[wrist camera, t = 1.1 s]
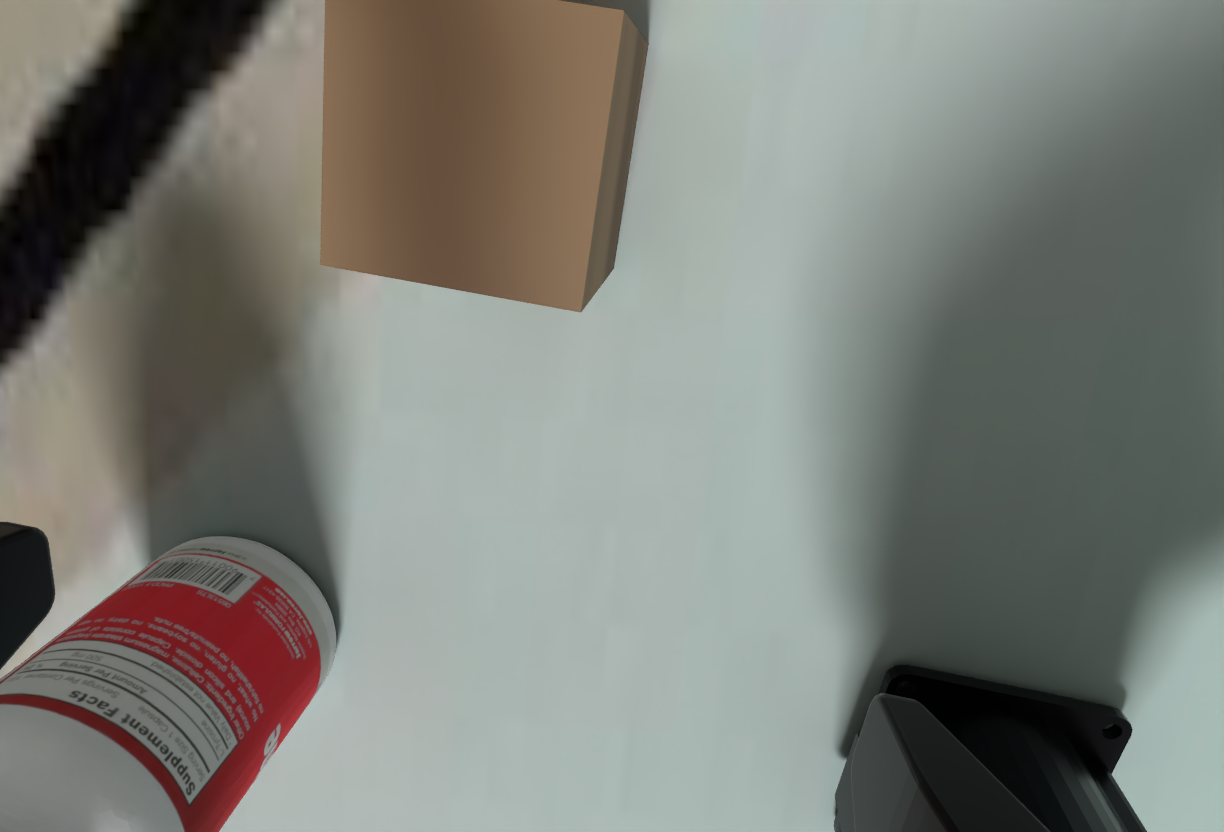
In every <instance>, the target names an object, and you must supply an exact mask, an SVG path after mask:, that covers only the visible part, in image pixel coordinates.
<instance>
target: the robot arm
mask: <svg viewBox="0 0 1224 832" xmlns="http://www.w3.org/2000/svg"><path fill="white" fill-rule="evenodd" d="M54 598H55V586H54V578H53V571H52V564H51V557H50V549H49V542H48V539H47V537H46V535H45V534H44V532H43V531H41V530H40V529H38V528H36V527H31V526H26V525H21V524H16V523H10V522H0V669H1V668H2V667H3V666H4V665H5V664H6V663H7V661H8V660H9V659H10V658H11V657H12V656H13V654H14V653H15V652H16V651H17V650H18V649H19V647H20V646H21V645H22V644H23V643H24V642H25V640H26V639H27V638H28V637H29V636H30V635H31V633H32V632H33V631H34V630H35V629H36V628H37V626H38V625H39V624H40V623H41V622H42V621H43V620H44V618H45V617H46V616H47V614H48V613H49V611H50V609H51V607H52V605H53V602H54ZM902 682H911V684H910V685H909V686H906V687H899V686H898V685H899V684H900V683H902ZM1109 724H1113V725H1112V727H1109V728H1107V729H1103V728H1104V727H1105V726H1107V725H1109ZM1131 733H1132V727H1131V724H1130V723H1129V721H1128V720H1127V718H1126V717H1125V716H1124V714H1123V713H1122V712H1121V711H1120V710H1119V709H1117V708H1114V707H1111V706H1106V705H1101V704H1096V703H1091V702H1086V701H1082V700H1077V699H1072V698H1067V697H1062V696H1057V695H1052V694H1047V693H1043V692H1038V691H1033V690H1028V689H1023V688H1018V687H1013V686H1008V685H1003V684H999V683H994V682H989V681H984V680H979V679H974V678H969V677H964V676H960V675H955V674H950V673H945V672H940V671H935V670H930V669H925V668H920V667H916V666H911V665H898V666H894V667H893V668H891V669H890V670H888V672H887V673H886V675H885V677H884V680H883V683H882V686H881V688H880V691H879V694H878V695H876V696H875V697H874V698H873V700H872V701H871V703H870V705H869V708H868V711H867V714H866V717H865V720H864V724H863V727H862V729H861V730H859V731H858V732H857V733H856V735H855V738H854V741H853V744H852V747H851V750H850V752H849V755H848V758H847V761H846V764H845V767H844V770H843V773H842V776H841V779H840V782H839V785H838V787H837V790H836V794H835V800H836V805H837V811H838V812H837V815H836V818H835V821H834V830H835V832H1147V831H1146V829H1145V828H1144V826H1143V824H1142V823H1141V821H1140V820H1139V818H1138V816H1137V815H1136V813H1135V812H1134V810H1133V808H1132V807H1131V805H1130V804H1129V802H1128V800H1127V799H1126V797H1125V796H1124V794H1123V792H1122V791H1121V789H1120V788H1119V786H1118V784H1117V783H1116V781H1115V780H1114V778H1113V776H1112V775H1111V774H1112V772H1113V770H1114V768H1115V766H1116V764H1117V762H1118V760H1119V758H1120V756H1121V754H1122V752H1123V750H1124V748H1125V746H1126V744H1127V742H1128V740H1129V739H1130V737H1131Z"/></svg>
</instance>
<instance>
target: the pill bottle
mask: <svg viewBox="0 0 1224 832" xmlns="http://www.w3.org/2000/svg"><path fill="white" fill-rule="evenodd" d="M335 652H336V630H335V625H334V620H333V617H332V614H331V611H330V608H329V606H328V604H327V602H326V600H325V598H324V596H323V595H322V593H321V591H320V590H319V588H318V587H317V585H316V584H315V583H314V582H313V580H312V579H311V578H310V577H309V576H308V575H307V574H306V573H305V572H304V571H303V570H302V569H301V568H300V567H299V566H298V565H296V564H295V563H294V562H293V561H292V560H290V559H289V558H287V557H286V556H284V555H283V554H281V553H280V552H278V551H276V550H274V549H272V548H270V547H268V546H266V545H264V544H261V543H259V542H255V541H252V540H248V539H243V538H237V537H227V536H211V537H202V538H198V539H193V540H190V541H187V542H185V543H182V544H180V545H178V546H176V547H174V548H172V549H171V550H169V551H167V552H166V553H164V554H163V555H161V556H160V557H159V558H157V559H156V560H155V561H153V562H152V563H150V564H149V565H148V566H146V567H145V568H144V569H143V570H142V571H140V572H139V573H138V574H136V575H135V576H134V577H132V578H131V579H130V580H129V581H127V582H126V583H125V584H124V585H122V586H121V587H120V588H119V589H117V590H116V591H115V592H114V593H112V594H111V595H110V596H108V597H107V598H106V599H104V600H103V601H102V602H101V603H99V604H98V605H97V606H95V607H94V608H93V609H91V610H90V611H89V612H87V613H86V614H85V615H83V616H82V617H81V618H79V619H78V620H77V621H76V622H74V623H73V624H72V625H71V626H69V627H68V628H67V629H66V630H64V631H63V632H62V633H60V634H59V635H57V636H56V637H55V638H54V639H52V640H51V641H50V642H48V643H47V644H46V645H44V646H43V647H42V648H41V649H39V650H38V651H37V652H35V653H34V654H33V655H31V656H30V657H29V658H28V659H27V660H25V661H24V662H23V663H21V664H20V665H19V666H17V667H16V668H14V669H13V670H12V671H11V672H9V673H8V674H7V675H5V676H4V677H3V678H1V679H0V832H219V831H220V829H221V828H222V826H223V825H224V823H225V822H226V821H227V819H228V818H229V816H230V815H231V813H232V812H233V811H234V809H235V808H236V806H237V805H238V803H239V802H240V801H241V799H242V798H243V796H244V795H245V794H246V792H247V791H248V790H249V788H250V786H251V785H252V783H253V782H254V781H255V779H256V778H257V776H258V775H259V774H260V772H261V771H262V770H263V768H264V767H265V766H266V764H267V762H268V761H269V759H270V758H271V757H272V755H273V754H274V752H275V751H276V750H277V748H278V747H279V745H280V744H281V742H282V741H283V740H284V738H285V737H286V735H287V734H288V733H289V731H290V730H291V728H292V727H293V726H294V724H295V723H296V721H297V720H298V718H299V717H300V716H301V714H302V713H303V711H304V710H305V708H306V707H307V706H308V704H309V703H310V701H311V700H312V698H313V697H314V696H315V694H316V693H317V691H318V690H319V688H320V687H321V685H322V684H323V682H324V680H325V679H326V677H327V676H328V674H329V672H330V669H331V667H332V664H333V661H334V657H335Z"/></svg>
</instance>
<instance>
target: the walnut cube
mask: <svg viewBox="0 0 1224 832" xmlns="http://www.w3.org/2000/svg"><path fill="white" fill-rule="evenodd" d="M647 50H648V43H647V41H646V40H645V38H644V37H643V36H642V34H641V33H640V32H639V30H638V29H637V27H636V26H635V25H634V23H633V22H632V21H631V19H630V18H629V16H628V15H627V14H626V12H625V11H624V10H618V9H612V8H605V7H599V6H593V5H586V4H580V3H574V2H567V1H561V0H325V39H324V94H323V149H322V204H321V258H320V265H324V266H329V267H335V268H340V269H346V270H351V271H357V272H362V273H368V274H373V275H379V276H384V277H390V278H395V279H401V280H406V281H411V282H417V283H422V284H428V285H433V286H439V287H444V288H450V289H455V290H461V291H466V292H472V293H477V294H483V295H488V296H494V297H499V298H505V299H510V300H516V301H521V302H527V303H532V304H538V305H543V306H549V307H554V308H560V309H565V310H571V311H576V312H582V310H583V309H584V308H585V306H586V305H587V304H588V302H589V301H590V300H591V298H592V297H593V296H594V294H595V293H596V292H597V290H598V289H599V288H600V286H601V285H602V284H603V282H604V281H605V280H606V278H607V277H608V276H609V274H610V273H611V272H612V270H613V269H614V263H615V256H616V250H617V244H618V237H619V231H620V224H621V218H622V211H623V205H624V198H625V192H626V186H627V179H628V173H629V166H630V160H631V153H632V147H633V140H634V134H635V128H636V121H637V115H638V108H639V102H640V95H641V89H642V82H643V76H644V70H645V63H646V57H647Z"/></svg>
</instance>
